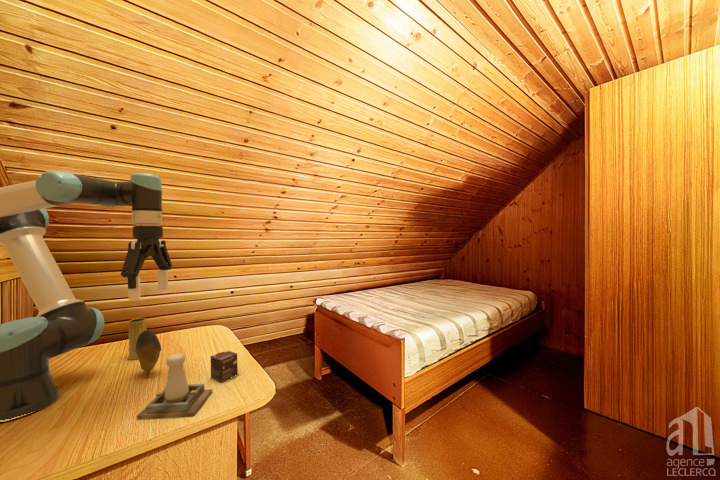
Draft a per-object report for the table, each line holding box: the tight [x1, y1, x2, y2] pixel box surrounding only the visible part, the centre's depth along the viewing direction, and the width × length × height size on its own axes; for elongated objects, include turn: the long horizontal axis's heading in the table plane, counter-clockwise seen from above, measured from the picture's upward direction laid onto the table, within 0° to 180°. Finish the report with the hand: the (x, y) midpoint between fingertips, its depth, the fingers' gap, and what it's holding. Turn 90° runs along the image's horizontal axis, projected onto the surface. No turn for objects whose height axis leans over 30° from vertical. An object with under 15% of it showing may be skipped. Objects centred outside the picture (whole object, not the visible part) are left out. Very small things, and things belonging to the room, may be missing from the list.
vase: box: [128, 317, 147, 361], centre depth 111 cm, size 6×6×14 cm
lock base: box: [136, 383, 213, 420], centre depth 80 cm, size 14×11×4 cm
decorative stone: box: [135, 329, 162, 375], centre depth 97 cm, size 10×6×15 cm, turn 65°
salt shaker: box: [164, 352, 189, 403], centre depth 80 cm, size 6×6×13 cm
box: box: [210, 350, 239, 383], centre depth 95 cm, size 6×6×7 cm
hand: (150, 294), depth 89 cm, fingers open, 13 cm apart
